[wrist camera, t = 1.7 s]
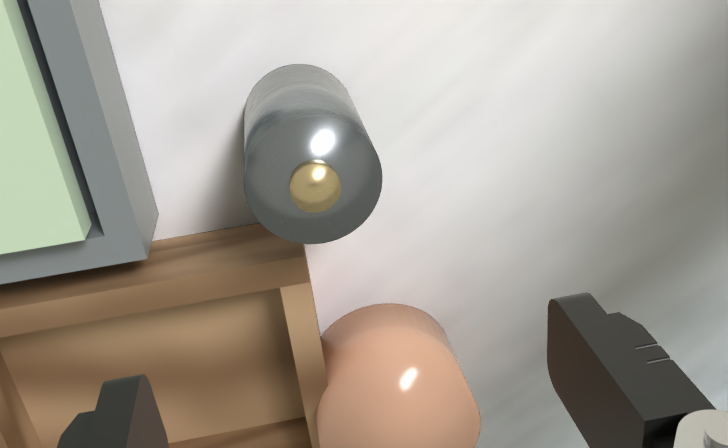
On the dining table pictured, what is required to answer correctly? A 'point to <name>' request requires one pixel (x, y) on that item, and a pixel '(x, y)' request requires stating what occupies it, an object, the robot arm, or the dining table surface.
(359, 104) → the dining table surface
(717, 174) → the dining table surface
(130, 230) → the checker base
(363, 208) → the cell
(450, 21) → the dining table surface
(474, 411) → the peach dome knob
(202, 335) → the brown wooden tray
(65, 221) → the pale green panel
